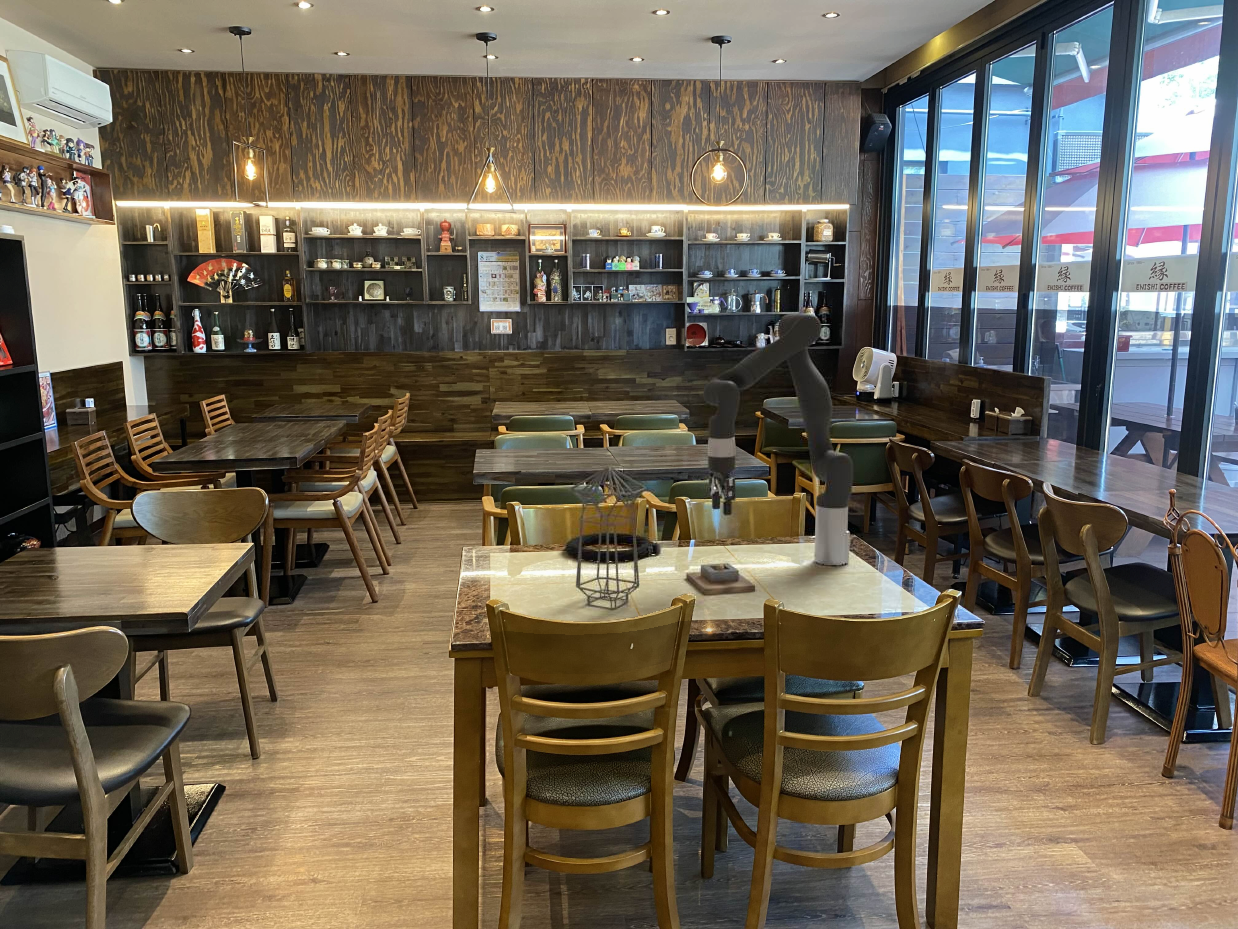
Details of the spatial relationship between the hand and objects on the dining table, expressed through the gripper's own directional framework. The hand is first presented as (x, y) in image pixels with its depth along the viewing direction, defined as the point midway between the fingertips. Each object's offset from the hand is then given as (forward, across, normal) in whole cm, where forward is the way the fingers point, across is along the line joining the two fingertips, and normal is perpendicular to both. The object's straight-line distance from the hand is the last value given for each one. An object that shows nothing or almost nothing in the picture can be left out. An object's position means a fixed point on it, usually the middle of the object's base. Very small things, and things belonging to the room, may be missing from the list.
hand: (721, 511), depth 245 cm
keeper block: (+19, -5, +2) cm, 20 cm away
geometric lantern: (+19, -13, +36) cm, 42 cm away
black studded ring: (+19, +37, +22) cm, 47 cm away
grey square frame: (+18, -4, +2) cm, 18 cm away
